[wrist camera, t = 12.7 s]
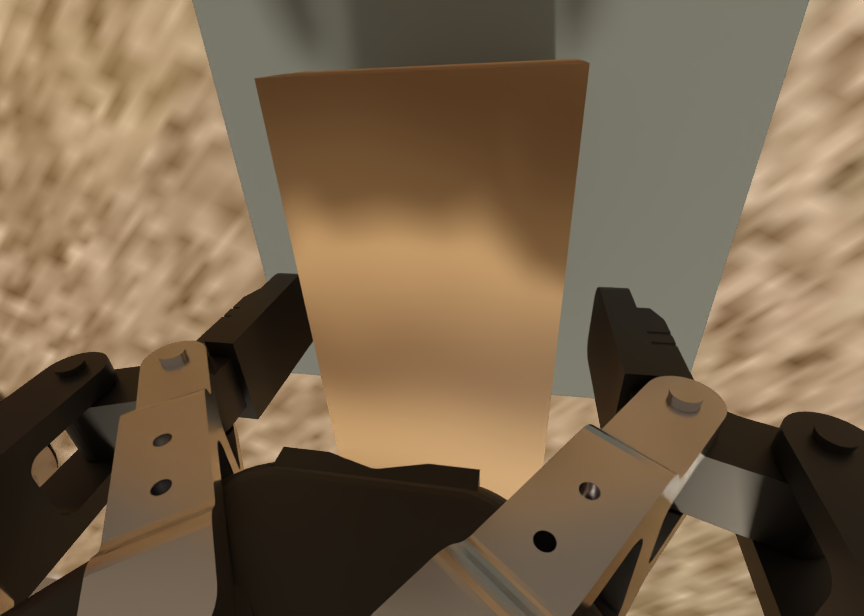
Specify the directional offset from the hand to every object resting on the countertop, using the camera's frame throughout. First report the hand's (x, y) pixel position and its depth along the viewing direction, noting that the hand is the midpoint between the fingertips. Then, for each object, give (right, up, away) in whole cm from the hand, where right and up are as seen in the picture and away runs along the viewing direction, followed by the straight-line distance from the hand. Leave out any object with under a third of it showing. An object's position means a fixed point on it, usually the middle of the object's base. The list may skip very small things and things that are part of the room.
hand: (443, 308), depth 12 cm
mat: (+1, +4, +7) cm, 8 cm away
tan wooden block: (+1, +4, +6) cm, 7 cm away
